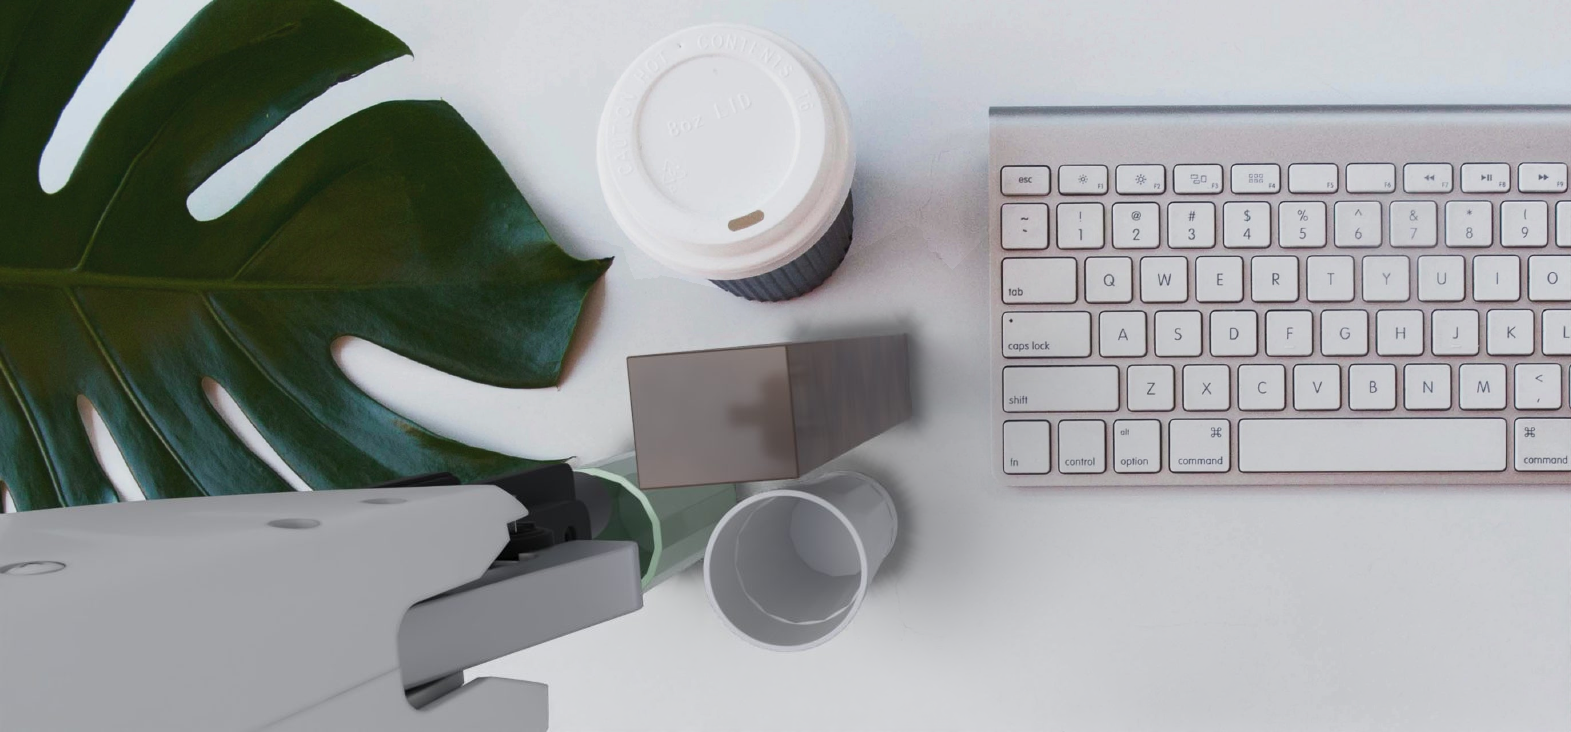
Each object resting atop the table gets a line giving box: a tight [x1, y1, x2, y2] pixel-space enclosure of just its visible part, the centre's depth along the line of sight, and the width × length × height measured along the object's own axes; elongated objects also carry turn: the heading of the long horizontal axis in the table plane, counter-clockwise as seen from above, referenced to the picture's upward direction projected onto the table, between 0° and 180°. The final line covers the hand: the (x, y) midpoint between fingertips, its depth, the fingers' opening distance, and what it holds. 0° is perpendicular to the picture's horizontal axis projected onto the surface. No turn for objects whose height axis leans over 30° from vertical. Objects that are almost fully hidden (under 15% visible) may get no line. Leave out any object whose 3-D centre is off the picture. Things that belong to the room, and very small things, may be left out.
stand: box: [625, 332, 914, 490], centre depth 52 cm, size 5×6×24 cm
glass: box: [571, 449, 738, 595], centre depth 59 cm, size 7×7×11 cm
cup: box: [703, 470, 899, 653], centre depth 58 cm, size 8×8×12 cm
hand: (506, 531), depth 26 cm, fingers closed
